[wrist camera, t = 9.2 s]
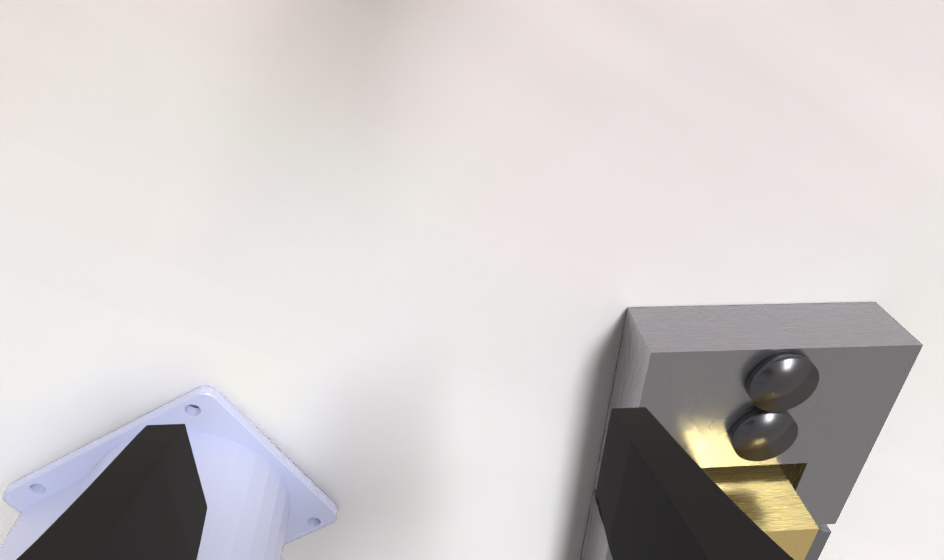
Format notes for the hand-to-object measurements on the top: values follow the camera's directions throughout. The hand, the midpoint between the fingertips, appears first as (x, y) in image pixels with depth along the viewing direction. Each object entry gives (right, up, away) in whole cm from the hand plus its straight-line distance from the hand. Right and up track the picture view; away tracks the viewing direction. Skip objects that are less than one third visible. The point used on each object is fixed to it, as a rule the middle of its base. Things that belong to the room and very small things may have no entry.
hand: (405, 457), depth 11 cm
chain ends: (+11, -5, +16) cm, 20 cm away
